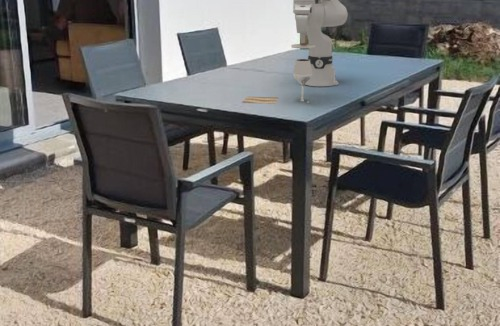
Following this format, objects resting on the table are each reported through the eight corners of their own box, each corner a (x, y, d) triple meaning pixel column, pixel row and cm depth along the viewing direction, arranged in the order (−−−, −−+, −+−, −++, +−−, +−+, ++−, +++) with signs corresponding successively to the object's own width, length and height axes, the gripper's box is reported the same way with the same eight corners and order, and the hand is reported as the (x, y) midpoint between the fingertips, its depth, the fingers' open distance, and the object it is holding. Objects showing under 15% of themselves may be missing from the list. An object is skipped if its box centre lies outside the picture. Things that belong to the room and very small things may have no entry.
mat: (247, 97, 285) (247, 96, 285) (278, 98, 283) (278, 97, 282) (241, 104, 272) (241, 102, 272) (274, 105, 269) (274, 103, 269)
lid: (292, 45, 274) (292, 34, 272) (316, 46, 272) (316, 34, 271) (290, 48, 264) (290, 36, 263) (314, 48, 263) (315, 36, 262)
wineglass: (291, 100, 279) (292, 58, 274) (310, 100, 279) (311, 58, 274) (294, 104, 271) (294, 61, 266) (313, 103, 271) (314, 61, 266)
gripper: (299, 7, 274) (298, 40, 278) (293, 9, 255) (293, 45, 259) (313, 7, 273) (313, 40, 277) (309, 9, 254) (308, 45, 258)
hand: (303, 42), depth 268 cm, fingers closed on lid, 3 cm apart
